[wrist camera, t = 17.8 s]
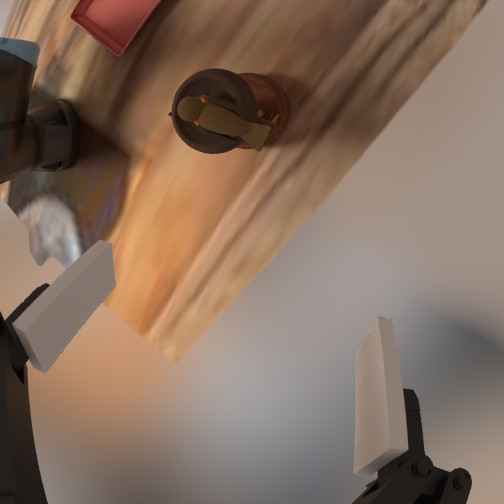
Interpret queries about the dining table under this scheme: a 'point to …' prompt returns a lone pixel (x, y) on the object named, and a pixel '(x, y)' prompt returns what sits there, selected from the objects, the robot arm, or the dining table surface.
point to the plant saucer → (113, 20)
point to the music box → (229, 111)
